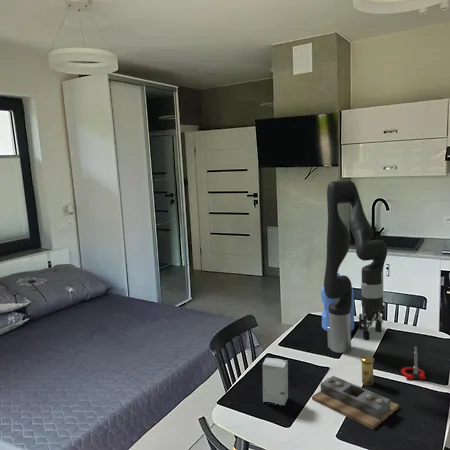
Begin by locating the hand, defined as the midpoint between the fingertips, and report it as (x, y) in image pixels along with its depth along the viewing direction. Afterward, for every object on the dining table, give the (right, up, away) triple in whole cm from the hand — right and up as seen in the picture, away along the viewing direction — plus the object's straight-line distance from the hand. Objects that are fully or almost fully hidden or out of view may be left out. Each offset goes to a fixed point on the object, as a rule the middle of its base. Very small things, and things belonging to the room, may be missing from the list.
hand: (372, 335), depth 156 cm
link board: (-10, -21, -9) cm, 25 cm away
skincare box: (-36, -22, -4) cm, 43 cm away
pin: (-1, -19, +3) cm, 19 cm away
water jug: (+2, -11, +54) cm, 55 cm away
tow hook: (+18, -17, +7) cm, 26 cm away
